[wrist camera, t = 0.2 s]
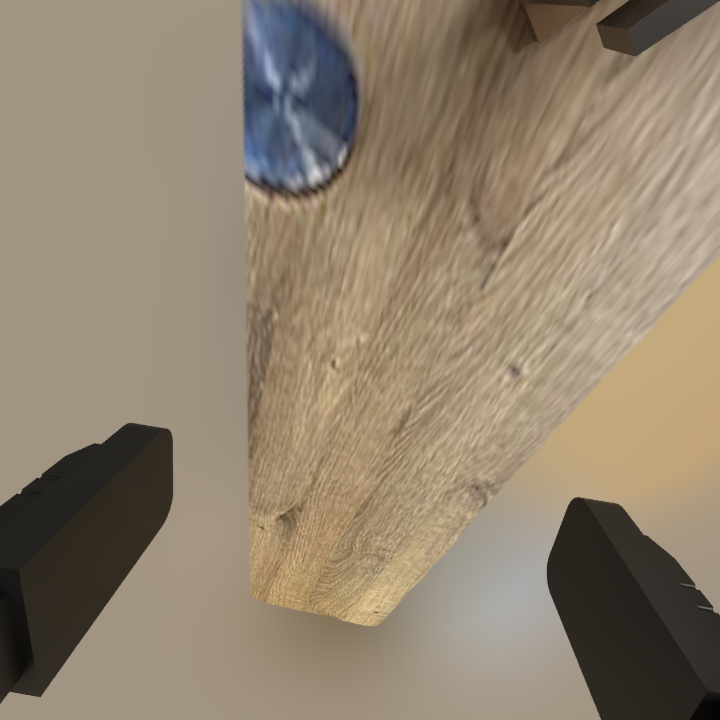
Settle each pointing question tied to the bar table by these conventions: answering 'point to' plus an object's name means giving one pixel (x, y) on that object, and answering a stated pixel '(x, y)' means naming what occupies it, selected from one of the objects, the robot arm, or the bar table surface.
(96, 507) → the robot arm
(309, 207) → the bar table surface
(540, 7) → the cradle stand
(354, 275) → the bar table surface
